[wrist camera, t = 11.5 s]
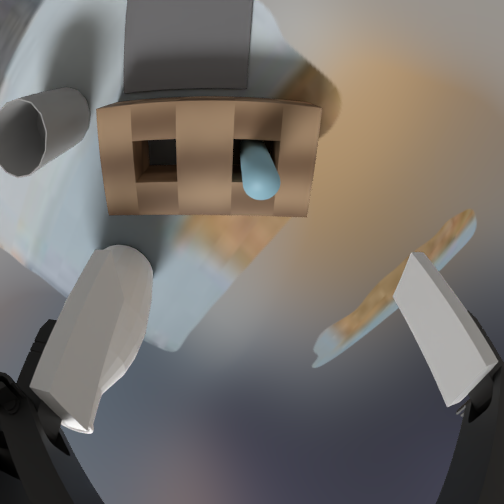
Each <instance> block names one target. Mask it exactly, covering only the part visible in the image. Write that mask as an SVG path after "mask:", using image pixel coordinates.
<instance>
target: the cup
mask: <svg viewBox="0 0 504 504" xmlns="http://www.w3.org/2000/svg"><path fill="white" fill-rule="evenodd" d="M89 121H90V110H89V107H88V103H87V100H86V99H85V98H84V96H83V95H82V94H81V93H80V92H79V91H78V90H75V89H72V88H69V87H63V88H58V89H54V90H49V91H45V92H41V93H37V94H33V95H29V96H25V97H21V98H18V99H15V100H13V101H10V102H7V103H6V104H5V105H4V106H3V107H2V109H1V110H0V166H1V167H2V168H3V170H4V171H5V172H6V173H8V174H10V175H12V176H15V177H17V178H19V177H25V176H30V175H31V174H33V173H34V172H36V171H37V170H38V169H40V168H41V167H43V166H44V165H46V164H47V163H49V162H50V161H52V160H53V159H55V158H56V157H58V156H60V155H61V154H63V153H64V152H66V151H68V150H69V149H71V148H72V147H74V146H75V145H76V144H78V143H79V142H80V141H82V139H83V137H84V136H85V134H86V132H87V130H88V128H89Z"/></svg>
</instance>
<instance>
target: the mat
mask: <svg viewBox="0 0 504 504" xmlns="http://www.w3.org/2000/svg"><path fill="white" fill-rule="evenodd" d="M252 1H253V0H127V11H126V24H125V43H124V93H131V92H141V91H152V90H166V89H186V88H239V89H247V74H248V59H249V43H250V29H251V15H252Z"/></svg>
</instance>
